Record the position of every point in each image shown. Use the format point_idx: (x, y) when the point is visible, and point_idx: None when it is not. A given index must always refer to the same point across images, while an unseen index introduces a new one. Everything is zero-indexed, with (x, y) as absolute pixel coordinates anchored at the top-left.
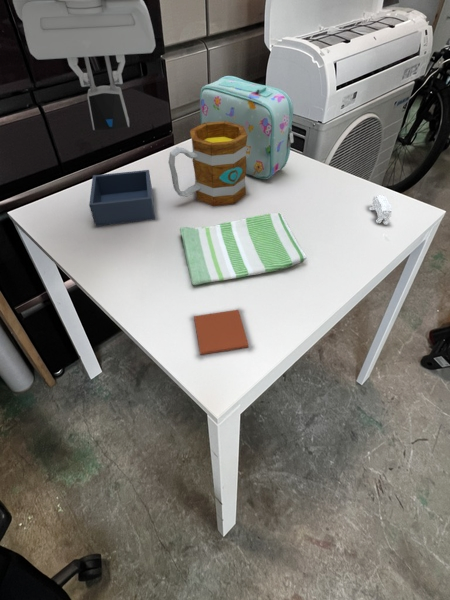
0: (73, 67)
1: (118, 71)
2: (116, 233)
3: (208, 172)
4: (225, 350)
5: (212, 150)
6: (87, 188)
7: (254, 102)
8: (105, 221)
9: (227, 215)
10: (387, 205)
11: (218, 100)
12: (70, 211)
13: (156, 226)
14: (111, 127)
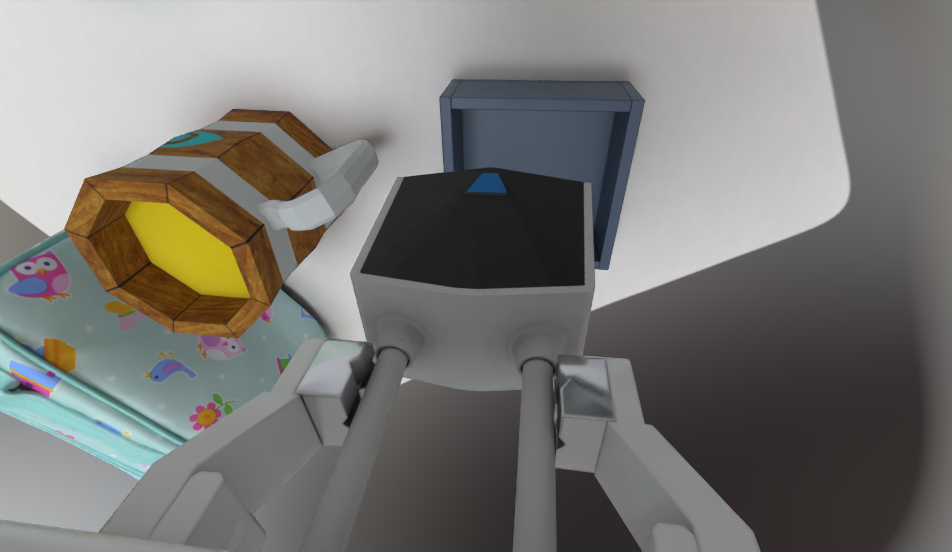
0: (699, 501)
1: (274, 404)
2: (572, 24)
3: (246, 156)
4: None
5: (176, 177)
6: (624, 275)
7: (40, 356)
8: (598, 84)
9: (243, 52)
10: None
11: (200, 417)
12: (689, 180)
13: (448, 38)
14: (487, 170)
